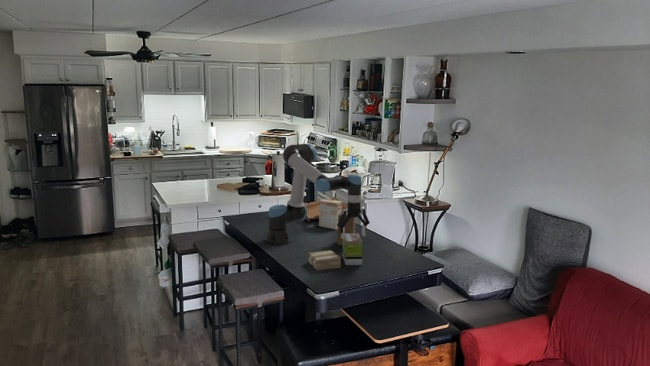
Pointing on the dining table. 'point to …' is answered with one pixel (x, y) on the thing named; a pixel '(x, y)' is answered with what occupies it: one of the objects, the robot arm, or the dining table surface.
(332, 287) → the dining table surface
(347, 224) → the wooden block
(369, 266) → the dining table surface
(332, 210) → the coffeecake box
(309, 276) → the dining table surface
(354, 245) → the tea box
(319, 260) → the birch plinth
